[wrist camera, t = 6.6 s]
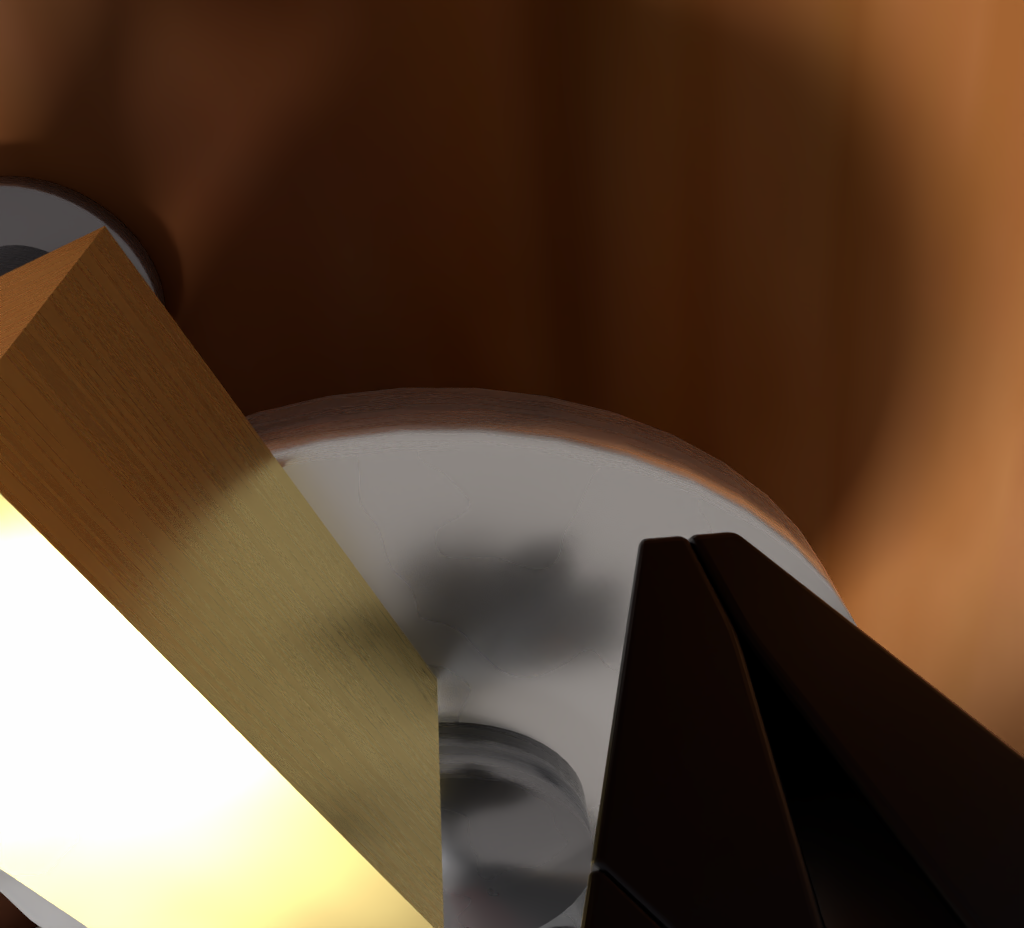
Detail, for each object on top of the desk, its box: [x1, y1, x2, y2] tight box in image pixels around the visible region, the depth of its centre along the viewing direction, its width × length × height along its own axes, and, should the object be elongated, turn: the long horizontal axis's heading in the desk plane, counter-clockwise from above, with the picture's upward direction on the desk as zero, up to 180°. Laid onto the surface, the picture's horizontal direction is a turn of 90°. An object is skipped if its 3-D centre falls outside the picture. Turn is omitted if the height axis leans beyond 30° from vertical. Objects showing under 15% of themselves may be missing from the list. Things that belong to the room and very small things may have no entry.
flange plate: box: [0, 226, 856, 928], centre depth 11 cm, size 14×12×4 cm
